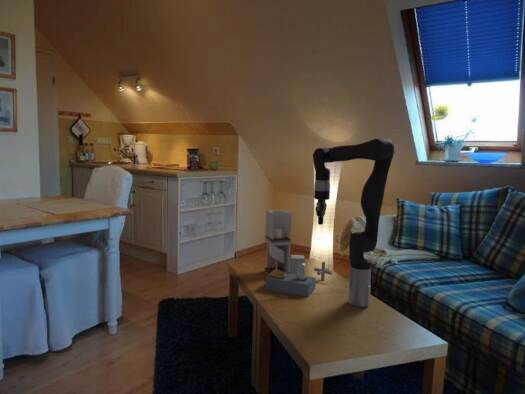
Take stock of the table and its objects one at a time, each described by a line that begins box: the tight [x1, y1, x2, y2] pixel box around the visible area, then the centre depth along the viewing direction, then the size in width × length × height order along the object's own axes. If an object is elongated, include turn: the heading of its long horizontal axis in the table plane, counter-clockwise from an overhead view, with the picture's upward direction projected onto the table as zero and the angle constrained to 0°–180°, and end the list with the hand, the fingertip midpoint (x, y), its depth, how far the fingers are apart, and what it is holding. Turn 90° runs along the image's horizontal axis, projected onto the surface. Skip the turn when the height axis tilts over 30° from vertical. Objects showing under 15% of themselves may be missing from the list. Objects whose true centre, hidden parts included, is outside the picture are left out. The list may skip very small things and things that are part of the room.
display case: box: [264, 209, 293, 276], centre depth 221 cm, size 11×11×35 cm
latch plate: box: [268, 269, 290, 279], centre depth 200 cm, size 8×8×1 cm
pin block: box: [264, 272, 317, 298], centre depth 198 cm, size 22×12×6 cm, turn 67°
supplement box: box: [289, 254, 306, 275], centre depth 213 cm, size 7×7×13 cm
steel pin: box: [297, 262, 306, 282], centre depth 196 cm, size 4×4×14 cm
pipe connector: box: [313, 261, 333, 282], centre depth 213 cm, size 10×10×10 cm
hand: (320, 224), depth 197 cm, fingers closed
